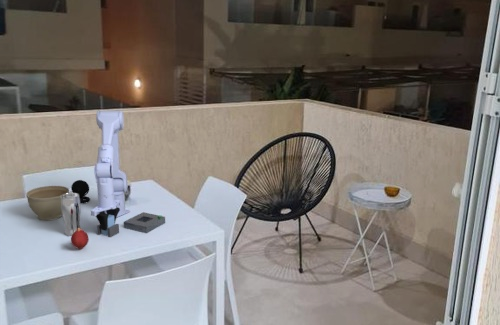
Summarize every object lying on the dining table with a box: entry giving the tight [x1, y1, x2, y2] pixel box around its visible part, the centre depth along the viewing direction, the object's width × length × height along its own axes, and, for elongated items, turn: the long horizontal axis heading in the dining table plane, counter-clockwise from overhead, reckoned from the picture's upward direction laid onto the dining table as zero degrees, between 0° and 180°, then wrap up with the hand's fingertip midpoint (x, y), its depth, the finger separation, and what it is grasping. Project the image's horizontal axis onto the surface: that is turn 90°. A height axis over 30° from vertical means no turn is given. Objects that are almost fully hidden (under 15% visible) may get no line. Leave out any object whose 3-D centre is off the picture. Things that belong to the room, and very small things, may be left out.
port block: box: [123, 211, 166, 234], centre depth 187 cm, size 11×12×3 cm
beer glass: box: [60, 192, 82, 237], centre depth 177 cm, size 7×7×15 cm
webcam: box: [70, 179, 91, 204], centre depth 213 cm, size 8×8×10 cm
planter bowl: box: [25, 185, 70, 221], centre depth 194 cm, size 16×16×11 cm
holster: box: [96, 223, 120, 238], centre depth 179 cm, size 6×5×4 cm
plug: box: [101, 215, 116, 237], centre depth 179 cm, size 4×4×7 cm
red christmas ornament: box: [70, 227, 90, 250], centre depth 165 cm, size 6×6×8 cm
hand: (108, 228), depth 179 cm, fingers closed on plug, 3 cm apart
